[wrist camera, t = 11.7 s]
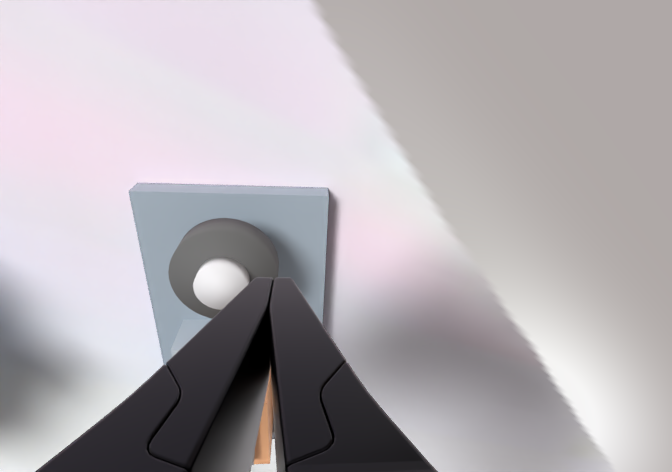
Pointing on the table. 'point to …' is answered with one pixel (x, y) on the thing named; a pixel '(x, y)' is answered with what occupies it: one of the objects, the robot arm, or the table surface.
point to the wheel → (220, 263)
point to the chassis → (237, 203)
